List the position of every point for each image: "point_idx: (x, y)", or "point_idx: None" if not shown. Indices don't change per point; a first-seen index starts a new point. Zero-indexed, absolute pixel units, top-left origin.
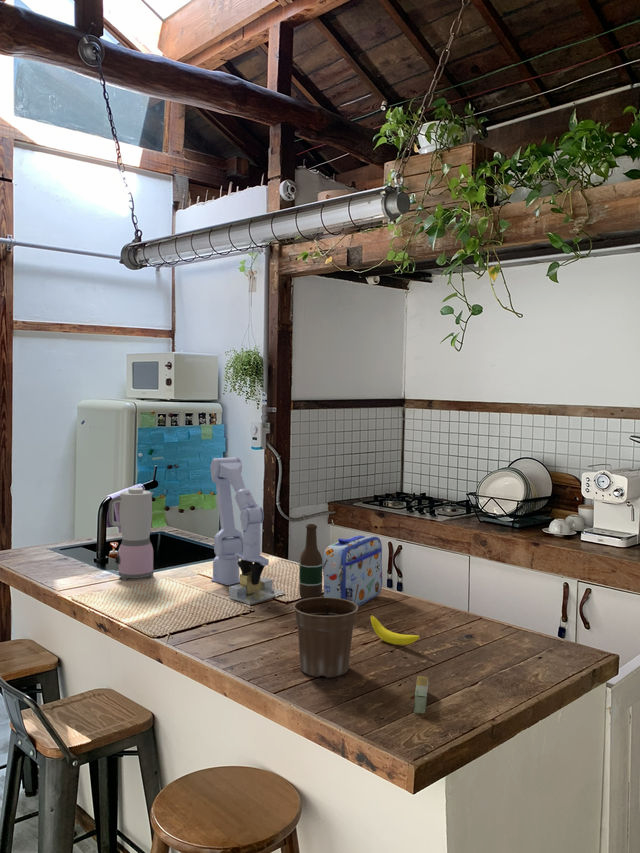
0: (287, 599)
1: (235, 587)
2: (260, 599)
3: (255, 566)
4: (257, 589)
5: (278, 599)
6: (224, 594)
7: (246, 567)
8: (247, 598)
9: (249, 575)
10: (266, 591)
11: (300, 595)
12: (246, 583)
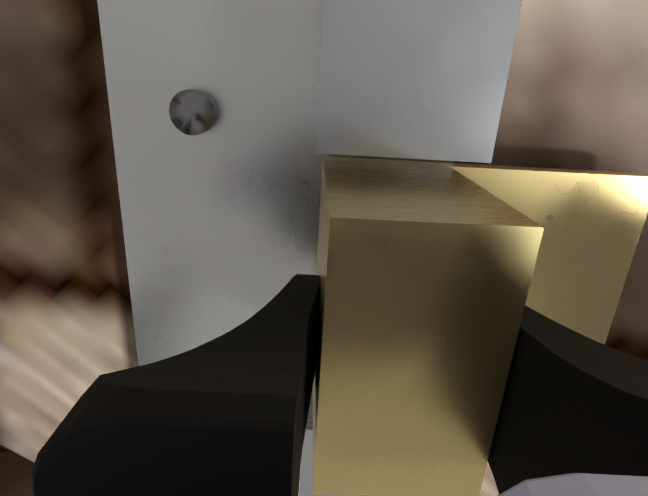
0: (29, 353)
1: (419, 7)
2: (116, 150)
3: (53, 443)
4: None
5: (77, 307)
6: (608, 70)
7: (558, 460)
8: (232, 66)
9: (328, 285)
10: None
11: (20, 465)
12: (338, 185)
